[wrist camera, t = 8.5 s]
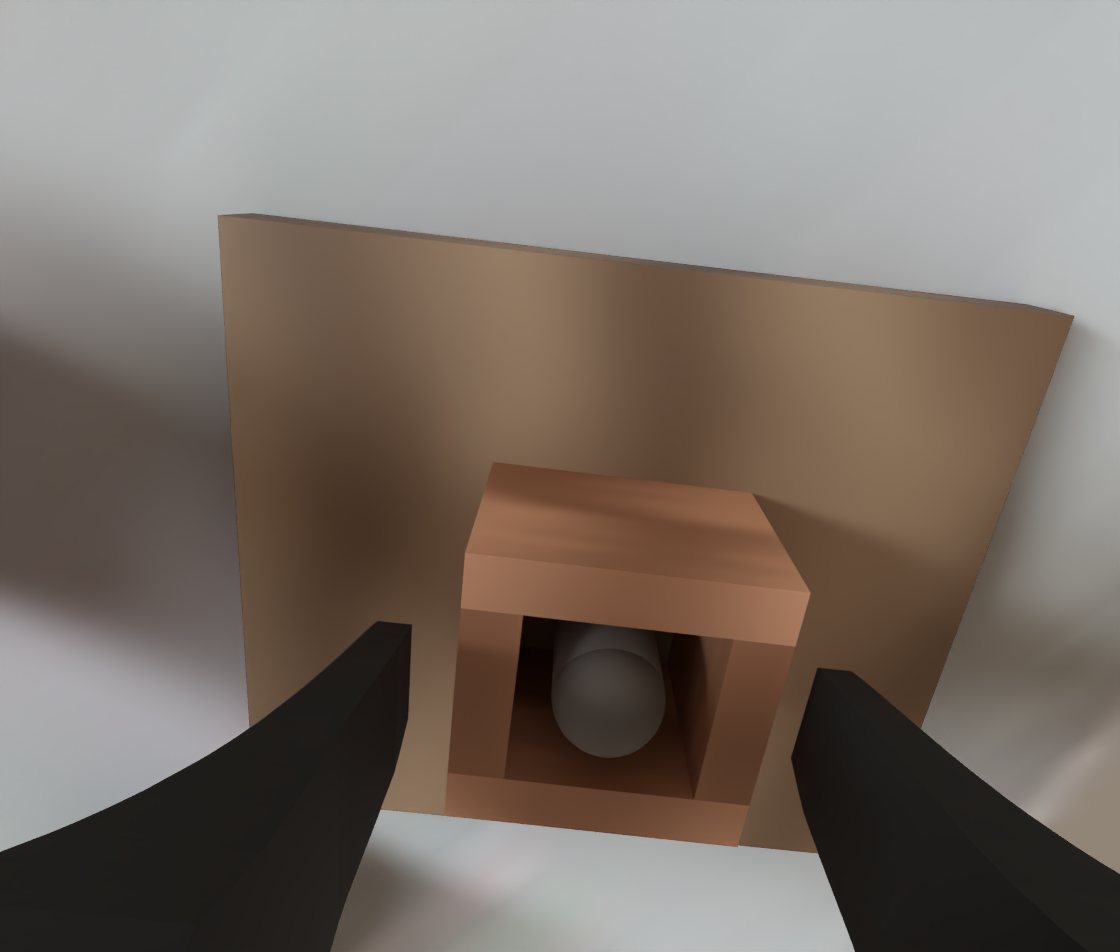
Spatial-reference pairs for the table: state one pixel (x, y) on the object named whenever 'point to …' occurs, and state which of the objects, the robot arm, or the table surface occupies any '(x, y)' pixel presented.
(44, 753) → the table surface
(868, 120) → the table surface
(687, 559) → the hollow wooden block
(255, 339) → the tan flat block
